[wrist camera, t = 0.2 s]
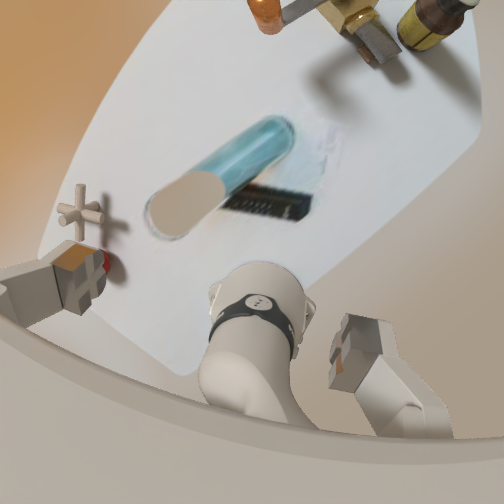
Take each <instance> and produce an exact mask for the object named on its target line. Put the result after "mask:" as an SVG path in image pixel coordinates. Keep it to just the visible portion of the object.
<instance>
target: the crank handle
mask: <svg viewBox="0 0 504 504" xmlns="http://www.w3.org/2000/svg"><path fill="white" fill-rule="evenodd" d="M327 1H329V0H296V1H294V2H292V3H291V4H289V5H287V6H286V7H284V8H283V9H281V5H280V0H247V3H248V5H249V7H250V9H251V12H252V14H253V16H254V18H255V20H256V23H257V25H258V27H259V29H260V30H261V31H262V32H263V33H265V34H268V35H273V34H277V33H279V32H280V31H281V30H282V29H283V27H285V26H286V25H288V24H289V23H291V22H293V21H294V20H296V19H297V18H299V17H301V16H302V15H304V14H306V13H307V12H309V11H311V10H313V9H314V8H316V7H318V6H320V5H321V4H323V3H325V2H327Z"/></svg>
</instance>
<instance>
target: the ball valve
mask: <svg viewBox="0 0 504 504" xmlns="http://www.w3.org/2000/svg"><path fill="white" fill-rule="evenodd" d="M378 1H379V0H329V1H327V2H325V3H323V4H321V5H320V6H318V7H316V9H317V10H318V11H319V12H320V13H321V14H322V15H323V16H324V17H325V18H326V19H327V21H328V22H329V23H330V24H331V25H332V26H333V27H334V28H335V29H336V31H337V32H338V33H341V32H343V31H345V30H346V29H347V30H348V31H349V33H350V34H351V35H354V34H357V35H358V36H359V38H360V39H361V40H362V41H363V42H364V44H365V45H364V46H362V47H361V48H359V50H358V52H359V54H360V55H361V56H362V57H363V59H364V60H365V61H366V63H369V62H371V61H372V60H374V59H377V60H378V61H379V63H380V64H383V63H385V62H386V61H388V60H390V59H391V58H393V57H395V56H396V55H398V54H399V53H401V52H402V50H401V48H400V47H399V46H398V44H397V43H396V42H395V41H394V39H393V38H392V37H391V35H390V34H389V33H388V32H387V31H386V29H385V28H384V27H383V26H382V24H381V23H380V22H379V21H378V19H379V18H380V15H379V14H378V13H377V12H376V11H375V10H374V8H375V6H376V4H377V3H378Z"/></svg>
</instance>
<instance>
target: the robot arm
mask: <svg viewBox="0 0 504 504" xmlns="http://www.w3.org/2000/svg"><path fill="white" fill-rule="evenodd" d="M104 261H105V260H104V253H103V252H102V251H101V250H100V249H97V248H94V247H91V246H88V245H84V244H81V243H78V242H75V241H72V240H65V241H64V242H63V243H61V244H60V245H59V246H57V247H56V248H55V249H53V250H52V251H51V252H49V253H48V254H47V255H46V256H44V257H43V258H42V259H41V260H38V259H36V260H32V261H28V262H25V263H21V264H18V265H15V266H11V267H7V268H4V269H0V504H504V436H503V437H491V438H476V439H454V438H453V432H452V427H451V423H450V417H449V412H448V408H447V407H446V406H445V405H444V404H443V402H442V401H441V400H440V399H439V398H438V397H437V395H436V394H435V393H434V392H433V391H432V390H431V389H430V388H429V387H428V385H427V384H426V383H425V382H424V381H423V380H422V378H421V377H420V376H419V375H418V374H417V373H416V372H415V371H414V370H413V368H412V367H411V366H410V365H409V364H408V363H407V362H406V361H405V360H404V359H403V358H399V353H398V348H397V343H396V338H395V335H394V330H393V325H392V323H391V322H390V321H386V320H380V319H372V318H367V317H363V316H358V315H353V314H348V313H346V314H345V315H344V317H343V319H342V321H341V330H340V331H339V332H337V333H336V335H335V337H334V339H333V342H332V346H331V350H330V362H331V364H332V367H331V369H330V371H329V388H330V389H335V390H340V391H345V392H350V393H354V396H355V397H356V399H357V401H358V403H359V404H360V406H361V408H362V410H363V411H364V413H365V415H366V417H367V419H368V420H369V422H370V424H371V426H372V427H373V429H374V431H375V433H376V435H377V436H366V435H357V434H348V433H340V432H333V431H326V430H320V429H318V428H317V427H316V426H315V425H314V424H313V423H312V422H311V421H310V420H309V419H308V418H307V416H306V415H305V414H304V413H303V412H302V410H301V408H300V407H299V405H298V404H297V402H296V400H295V399H294V396H293V394H292V391H291V388H290V376H289V366H290V361H291V359H295V358H296V356H297V354H298V350H299V348H298V347H297V345H298V344H301V342H302V340H303V334H304V332H305V330H306V328H307V326H308V325H309V323H310V321H311V319H312V317H313V315H314V313H315V310H316V306H315V304H314V303H313V302H312V301H311V300H310V299H309V298H308V297H307V296H306V295H305V294H304V292H303V290H302V288H301V286H300V284H299V282H298V281H297V279H296V278H295V277H294V276H293V275H292V274H291V273H290V272H289V271H287V270H286V269H284V268H282V267H280V266H278V265H275V264H272V263H267V262H253V263H248V264H245V265H242V266H240V267H238V268H237V269H235V270H234V271H233V272H232V273H231V274H230V275H229V276H228V277H227V278H226V279H224V280H223V281H220V282H217V283H215V284H213V285H212V286H211V287H210V289H209V299H210V306H211V308H210V312H209V315H211V320H212V328H211V331H210V336H209V345H208V347H207V349H206V352H205V354H204V356H203V359H202V361H201V363H200V366H199V369H198V383H199V387H200V390H201V391H202V393H203V395H204V397H205V399H206V401H207V402H208V404H209V405H208V404H204V403H201V402H198V401H194V400H191V399H188V398H185V397H182V396H179V395H176V394H172V393H169V392H167V391H164V390H161V389H158V388H155V387H153V386H150V385H147V384H144V383H142V382H139V381H137V380H134V379H131V378H128V377H126V376H124V375H121V374H119V373H116V372H114V371H112V370H109V369H107V368H105V367H102V366H100V365H98V364H95V363H93V362H91V361H89V360H86V359H84V358H82V357H80V356H78V355H76V354H74V353H71V352H70V351H68V350H66V349H64V348H62V347H60V346H58V345H55V344H54V343H52V342H50V341H48V340H46V339H44V338H42V337H40V336H38V335H37V334H35V333H33V332H31V331H29V330H28V329H26V328H27V327H29V326H31V325H33V324H35V323H37V322H39V321H41V320H43V319H45V318H47V317H49V316H51V315H53V314H55V313H57V312H59V311H61V310H63V309H65V310H68V311H70V312H73V313H75V314H78V315H80V316H82V314H83V313H84V312H85V311H86V310H87V309H88V308H89V307H90V306H91V304H92V303H91V299H94V298H97V297H99V296H100V294H101V293H102V292H103V290H104V288H105V285H106V271H105V270H104V268H103V267H102V264H103V263H104ZM306 313H308V315H306Z"/></svg>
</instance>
